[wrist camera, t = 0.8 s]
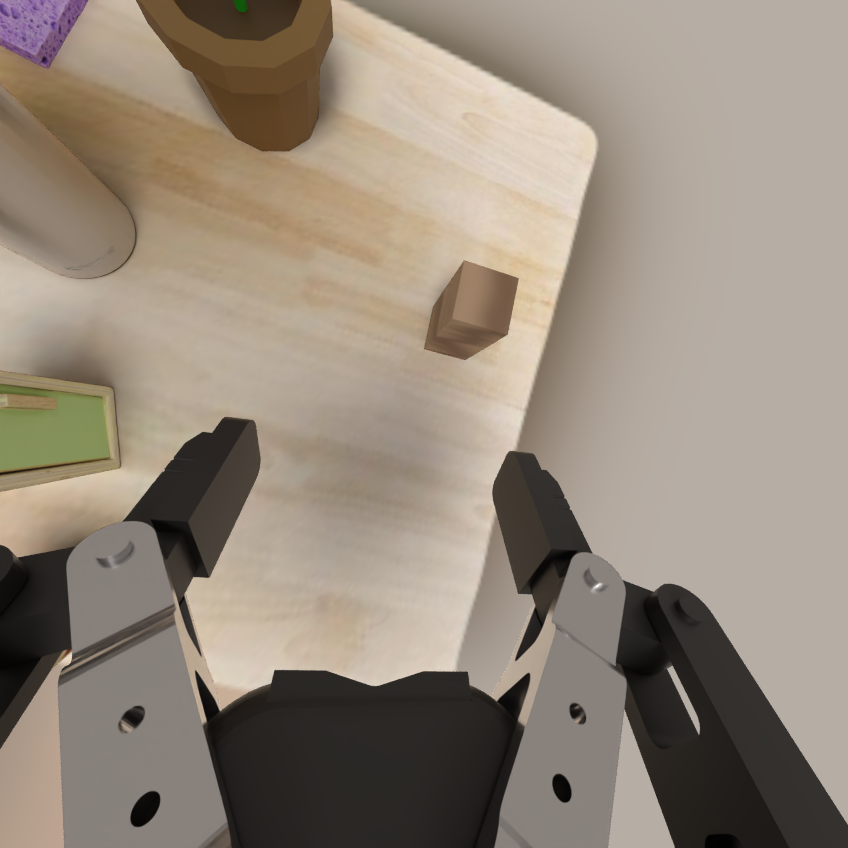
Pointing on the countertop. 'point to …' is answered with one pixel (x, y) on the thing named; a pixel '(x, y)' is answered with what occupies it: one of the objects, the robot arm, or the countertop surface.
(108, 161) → the countertop surface
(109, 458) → the toy refrigerator
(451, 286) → the walnut block
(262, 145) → the flowerpot
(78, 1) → the sponges
